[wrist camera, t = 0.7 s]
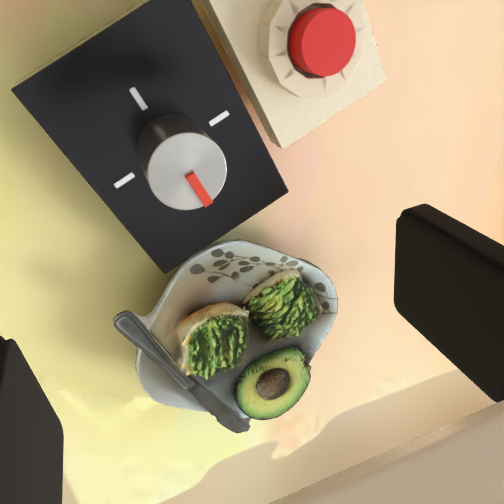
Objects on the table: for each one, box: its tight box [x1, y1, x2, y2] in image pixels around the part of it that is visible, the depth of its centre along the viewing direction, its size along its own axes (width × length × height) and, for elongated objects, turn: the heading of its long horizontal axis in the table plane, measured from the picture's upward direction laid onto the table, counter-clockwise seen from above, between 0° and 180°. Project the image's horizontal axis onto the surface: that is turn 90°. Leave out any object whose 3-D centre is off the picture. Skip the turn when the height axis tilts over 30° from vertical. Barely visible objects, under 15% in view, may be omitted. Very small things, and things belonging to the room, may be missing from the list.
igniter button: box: [289, 8, 356, 77], centre depth 27 cm, size 4×4×2 cm
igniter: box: [200, 0, 386, 149], centre depth 29 cm, size 11×9×4 cm
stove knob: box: [136, 114, 227, 210], centre depth 26 cm, size 4×4×5 cm
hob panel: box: [11, 0, 289, 274], centre depth 29 cm, size 15×11×3 cm
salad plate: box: [113, 240, 338, 433], centre depth 37 cm, size 19×18×5 cm
